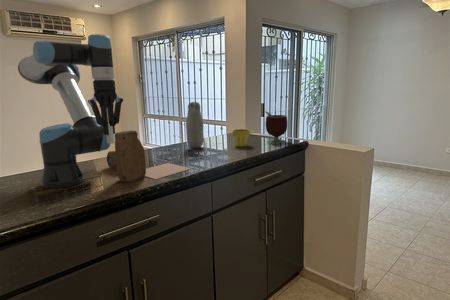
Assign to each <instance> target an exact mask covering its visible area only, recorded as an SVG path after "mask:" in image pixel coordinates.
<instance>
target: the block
mask: <svg viewBox="0 0 450 300" xmlns="http://www.w3.org/2000/svg"><path fill="white" fill-rule="evenodd" d="M114 151H115V155H116V168H117V170H116V173H117V177H118V179H119V181H121V182H123V183H129V182H131V183H133V182H137V181H138V180H142V179H144V178H146V177H145V174H146V169H147V162H146V153H145V148H144V146H143V144H142V142H141V140H140V139H139V138H138V132H137V130H125V131H120V132H115V134H114Z"/></svg>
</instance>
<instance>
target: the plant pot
mask: <svg viewBox="0 0 450 300" xmlns="http://www.w3.org/2000/svg"><path fill="white" fill-rule="evenodd" d="M232 136H233V138H234V142H235V146H236V147H239V148H240V147H242V148H243V146H244V147H246V146H247V144H248V140H249V136H250V130H249V129H245V128H238V129H233V130H232Z"/></svg>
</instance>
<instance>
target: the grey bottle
mask: <svg viewBox="0 0 450 300" xmlns="http://www.w3.org/2000/svg"><path fill="white" fill-rule="evenodd" d="M185 130H186V131H185V132H186V143H187V145H188V147H189V148H192V149H200V148H202V146H203V144H204V141H205V139H204V137H205V136H204V120H203V116H202V111H201V104H200V103H199V102H197V101H190V102H189V103H188V105H187V116H186V119H185Z"/></svg>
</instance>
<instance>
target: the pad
mask: <svg viewBox="0 0 450 300" xmlns="http://www.w3.org/2000/svg"><path fill="white" fill-rule="evenodd" d="M190 170H192V168H191V167H186V166H183V165H179V164H174V163H169V162H168V163H163V164H160V165H155V166H151V167H146V174H145V177H144V178H148V179H151V180H155V181H156V180H158V179H159V180H160V179H163V178H166V177H169V176H172V175H175V174H176V175H177V174H179V173H183V172H186V171H190Z"/></svg>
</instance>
